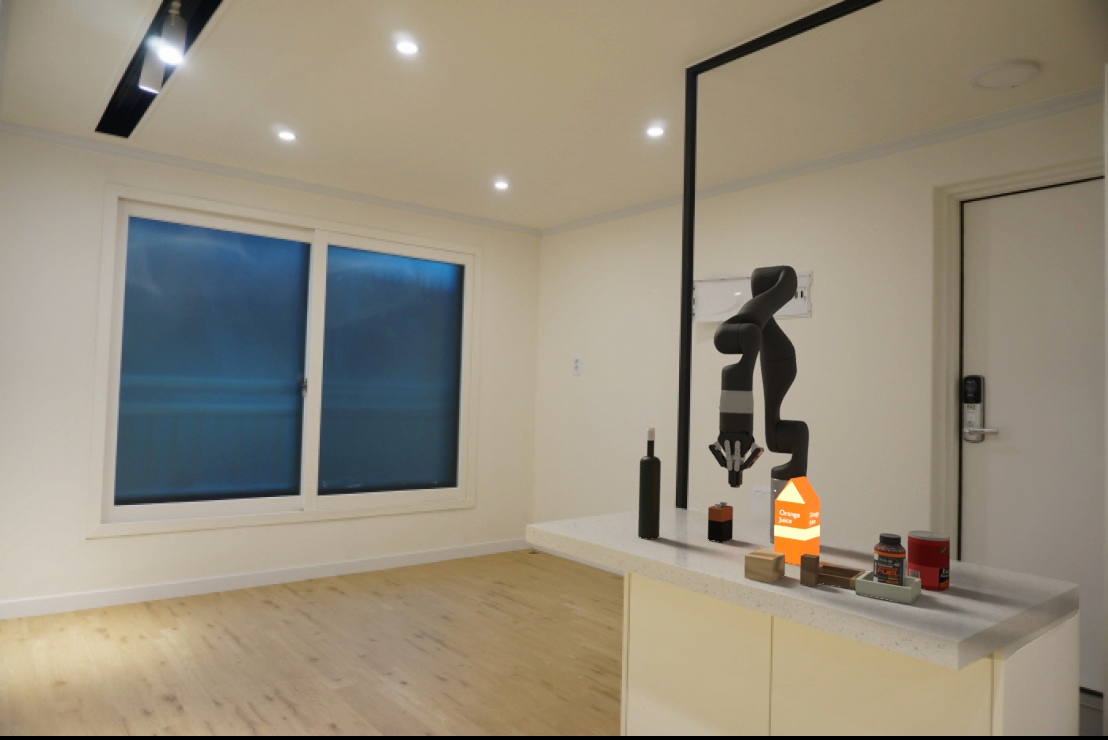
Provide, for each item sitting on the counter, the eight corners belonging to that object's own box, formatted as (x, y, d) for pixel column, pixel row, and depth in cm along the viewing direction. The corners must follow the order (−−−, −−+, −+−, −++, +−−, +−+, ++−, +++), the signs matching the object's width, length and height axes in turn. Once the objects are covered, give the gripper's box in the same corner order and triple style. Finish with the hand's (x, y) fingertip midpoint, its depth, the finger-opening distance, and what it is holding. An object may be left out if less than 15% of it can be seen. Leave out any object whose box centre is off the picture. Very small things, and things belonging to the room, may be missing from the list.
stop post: (804, 581, 150) (805, 553, 150) (819, 584, 148) (819, 555, 148) (800, 584, 148) (800, 555, 148) (814, 587, 146) (814, 558, 146)
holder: (821, 572, 158) (821, 564, 158) (865, 580, 152) (865, 571, 152) (807, 581, 151) (807, 571, 151) (853, 589, 145) (853, 579, 145)
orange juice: (773, 560, 169) (774, 477, 170) (789, 554, 175) (790, 474, 176) (804, 566, 164) (806, 480, 164) (820, 560, 170) (821, 478, 171)
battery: (733, 539, 193) (733, 503, 193) (721, 543, 187) (722, 505, 188) (718, 537, 195) (719, 501, 196) (706, 540, 190) (707, 503, 191)
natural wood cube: (758, 571, 158) (758, 549, 159) (784, 576, 155) (785, 553, 155) (744, 578, 152) (744, 555, 152) (771, 583, 148) (771, 560, 149)
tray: (868, 584, 149) (868, 570, 149) (920, 593, 143) (921, 578, 143) (855, 594, 141) (855, 579, 141) (910, 604, 135) (910, 588, 135)
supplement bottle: (873, 592, 141) (874, 536, 141) (872, 585, 146) (872, 530, 146) (906, 596, 138) (907, 539, 139) (904, 589, 144) (904, 533, 144)
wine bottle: (644, 534, 197) (646, 427, 198) (662, 537, 193) (665, 428, 194) (634, 537, 192) (636, 427, 193) (653, 540, 189) (655, 428, 190)
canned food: (948, 593, 144) (949, 539, 144) (905, 586, 148) (905, 534, 149) (950, 585, 151) (950, 533, 151) (909, 579, 155) (909, 529, 155)
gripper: (771, 412, 158) (769, 488, 158) (716, 409, 167) (715, 483, 166) (758, 412, 153) (756, 492, 152) (702, 409, 161) (700, 485, 160)
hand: (735, 487), depth 159 cm, fingers closed
